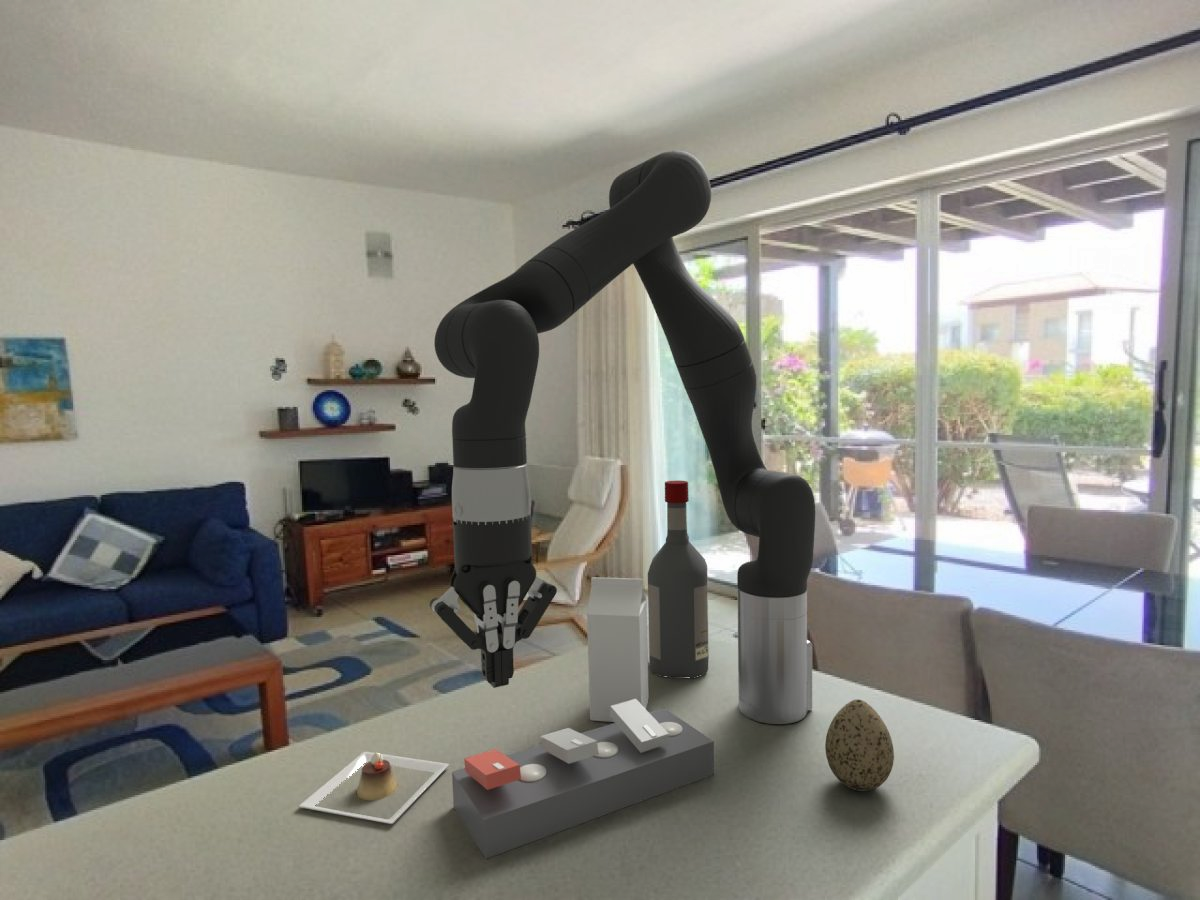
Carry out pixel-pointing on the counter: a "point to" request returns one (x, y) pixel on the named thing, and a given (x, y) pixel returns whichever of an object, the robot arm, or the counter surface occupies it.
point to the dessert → (375, 782)
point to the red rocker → (492, 769)
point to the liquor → (678, 596)
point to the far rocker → (638, 725)
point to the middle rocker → (569, 745)
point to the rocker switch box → (579, 784)
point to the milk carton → (616, 644)
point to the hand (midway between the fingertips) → (497, 683)
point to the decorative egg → (859, 747)
